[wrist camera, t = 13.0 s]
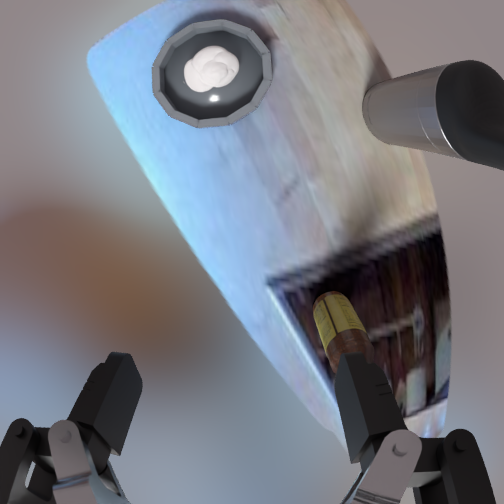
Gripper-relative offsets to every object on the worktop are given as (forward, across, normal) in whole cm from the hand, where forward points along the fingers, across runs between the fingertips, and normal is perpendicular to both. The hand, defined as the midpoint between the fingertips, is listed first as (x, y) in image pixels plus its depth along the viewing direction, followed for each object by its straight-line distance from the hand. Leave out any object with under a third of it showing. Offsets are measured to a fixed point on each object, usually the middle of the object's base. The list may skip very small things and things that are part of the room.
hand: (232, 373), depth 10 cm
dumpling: (+29, +4, -17) cm, 34 cm away
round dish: (+30, +4, -17) cm, 34 cm away
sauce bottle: (+30, -12, +18) cm, 37 cm away
